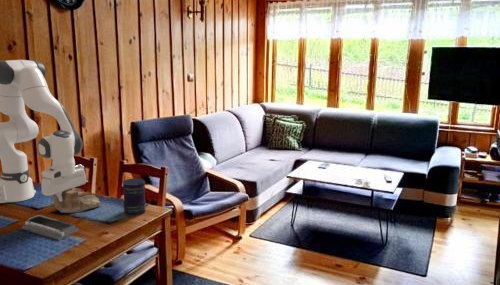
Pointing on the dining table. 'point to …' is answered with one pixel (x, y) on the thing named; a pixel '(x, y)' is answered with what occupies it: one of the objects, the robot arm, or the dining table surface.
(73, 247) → the dining table surface
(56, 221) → the grey rectangular tray
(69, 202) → the wooden block
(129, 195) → the storage jar
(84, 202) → the grey brown rock
